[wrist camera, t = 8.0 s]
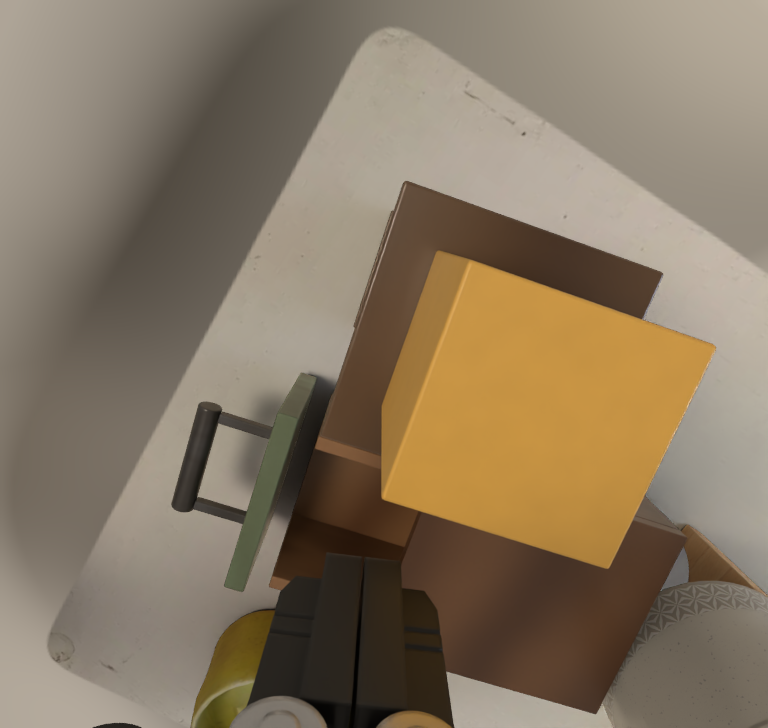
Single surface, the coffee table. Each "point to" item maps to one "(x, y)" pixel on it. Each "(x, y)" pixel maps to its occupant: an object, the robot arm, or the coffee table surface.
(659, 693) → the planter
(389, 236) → the stand
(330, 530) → the drawer
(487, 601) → the cabinet
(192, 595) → the coffee table surface
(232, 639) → the mug
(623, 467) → the block
